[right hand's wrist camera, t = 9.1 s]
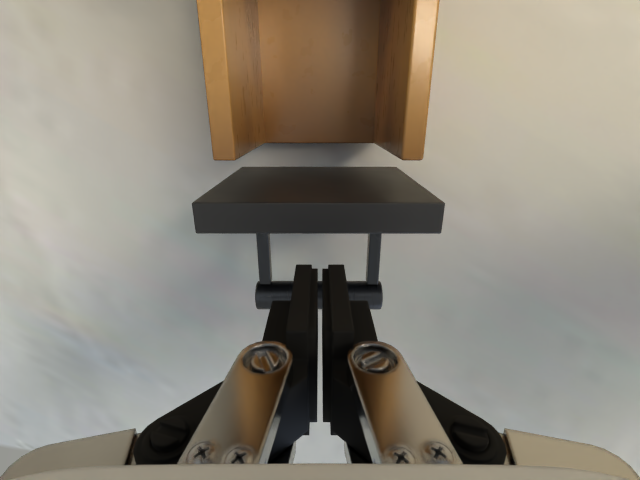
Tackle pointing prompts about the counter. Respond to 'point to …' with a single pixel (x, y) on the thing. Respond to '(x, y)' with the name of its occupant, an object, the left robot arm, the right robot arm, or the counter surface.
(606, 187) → the counter surface
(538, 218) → the counter surface
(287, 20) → the drawer
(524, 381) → the counter surface
